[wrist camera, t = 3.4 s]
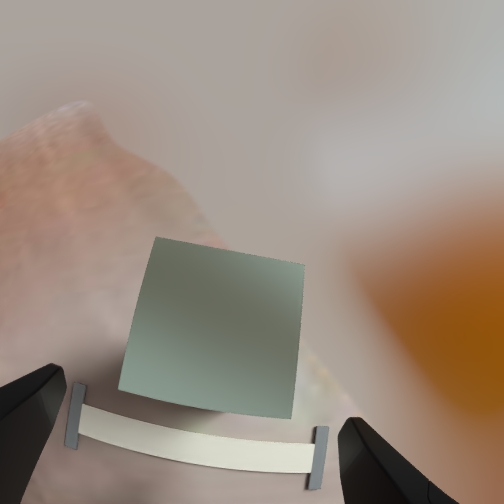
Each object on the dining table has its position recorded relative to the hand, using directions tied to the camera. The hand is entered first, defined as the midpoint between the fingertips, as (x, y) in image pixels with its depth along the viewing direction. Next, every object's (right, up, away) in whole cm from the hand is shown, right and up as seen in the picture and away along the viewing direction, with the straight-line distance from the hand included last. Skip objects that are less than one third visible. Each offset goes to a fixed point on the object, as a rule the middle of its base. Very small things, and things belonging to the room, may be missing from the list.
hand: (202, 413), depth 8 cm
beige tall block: (-1, -2, +10) cm, 10 cm away
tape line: (-2, -7, +7) cm, 10 cm away
